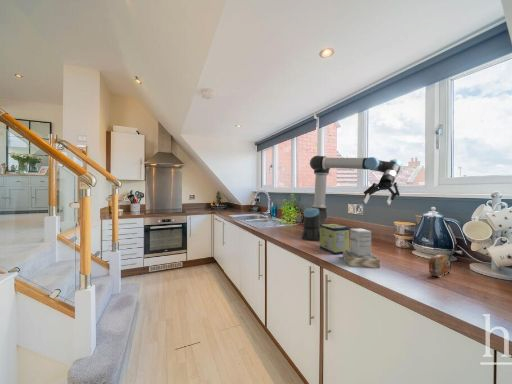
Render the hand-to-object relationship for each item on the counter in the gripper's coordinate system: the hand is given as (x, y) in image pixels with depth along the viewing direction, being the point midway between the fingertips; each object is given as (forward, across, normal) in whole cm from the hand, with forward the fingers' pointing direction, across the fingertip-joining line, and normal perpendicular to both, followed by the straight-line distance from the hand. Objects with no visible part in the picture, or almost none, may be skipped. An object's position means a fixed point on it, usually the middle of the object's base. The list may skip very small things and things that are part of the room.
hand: (375, 202), depth 123 cm
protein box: (+34, +16, -8) cm, 39 cm away
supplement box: (+35, -4, -1) cm, 36 cm away
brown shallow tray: (+38, -4, -4) cm, 39 cm away
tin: (+28, -32, -14) cm, 45 cm away
